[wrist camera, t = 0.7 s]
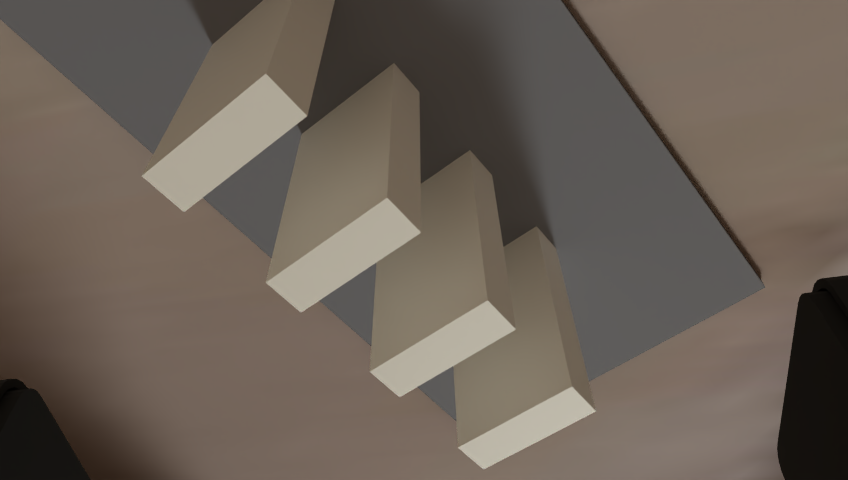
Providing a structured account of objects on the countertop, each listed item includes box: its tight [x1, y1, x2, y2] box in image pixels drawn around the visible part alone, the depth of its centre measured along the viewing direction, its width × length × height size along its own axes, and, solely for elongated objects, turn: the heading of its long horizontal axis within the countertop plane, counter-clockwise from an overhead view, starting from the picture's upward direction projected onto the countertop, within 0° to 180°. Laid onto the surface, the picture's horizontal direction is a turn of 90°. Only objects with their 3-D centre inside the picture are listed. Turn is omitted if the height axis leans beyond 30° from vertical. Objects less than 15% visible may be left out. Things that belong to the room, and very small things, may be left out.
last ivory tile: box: [142, 0, 335, 212], centre depth 27 cm, size 5×2×10 cm, turn 129°
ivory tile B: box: [370, 150, 516, 397], centre depth 31 cm, size 5×2×10 cm, turn 129°
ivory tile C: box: [266, 63, 421, 312], centre depth 29 cm, size 5×2×10 cm, turn 129°
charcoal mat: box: [0, 0, 765, 420], centre depth 34 cm, size 17×33×1 cm, turn 39°
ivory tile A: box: [453, 226, 596, 469], centre depth 34 cm, size 5×2×10 cm, turn 129°
